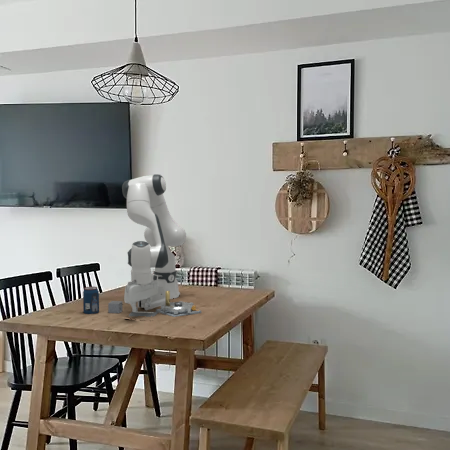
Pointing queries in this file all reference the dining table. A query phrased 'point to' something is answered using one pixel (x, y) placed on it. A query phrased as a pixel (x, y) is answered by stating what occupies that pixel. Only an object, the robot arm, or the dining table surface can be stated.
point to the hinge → (154, 300)
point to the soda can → (90, 300)
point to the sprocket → (176, 306)
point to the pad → (143, 314)
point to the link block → (115, 307)
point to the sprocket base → (179, 313)
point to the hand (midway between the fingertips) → (141, 309)
